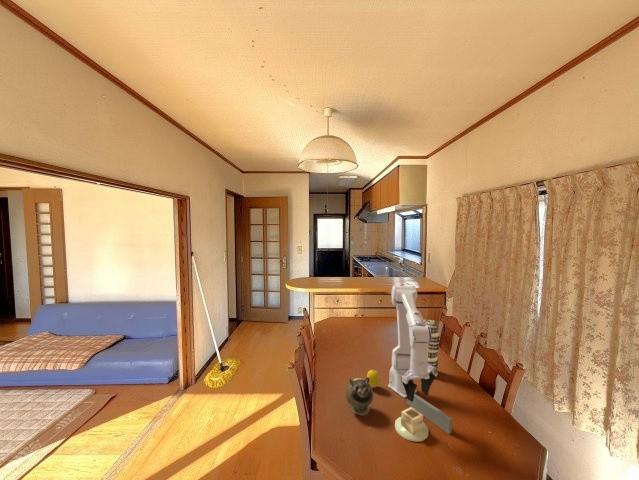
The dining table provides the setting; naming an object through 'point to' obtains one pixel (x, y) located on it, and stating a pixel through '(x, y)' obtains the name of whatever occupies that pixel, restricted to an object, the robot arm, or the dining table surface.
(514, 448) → the dining table surface
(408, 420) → the cube
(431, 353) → the decorative candle
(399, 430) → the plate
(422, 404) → the grey rectangular bar
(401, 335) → the robot arm
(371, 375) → the lemon
